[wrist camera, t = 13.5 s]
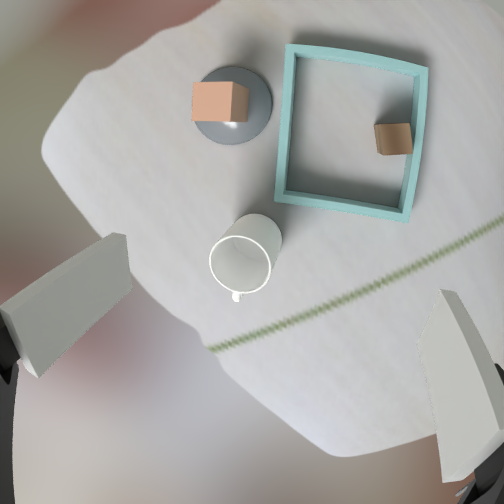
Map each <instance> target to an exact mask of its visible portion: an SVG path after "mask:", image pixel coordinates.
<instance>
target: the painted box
mask: <svg viewBox="0 0 504 504" xmlns="http://www.w3.org/2000/svg"><path fill="white" fill-rule="evenodd" d="M248 100H249V89H248V88H246V87H244V86H241V85H239V84H237V83H235V82H195V83H193V100H192V121H224V122H247V115H248Z"/></svg>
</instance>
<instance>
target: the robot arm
mask: <svg viewBox="0 0 504 504" xmlns="http://www.w3.org/2000/svg"><path fill="white" fill-rule="evenodd" d="M130 290H132V284H131V277H130V268H129V260H128V251H127V241H126V235H124V234H118V233H111V234H110V235H108V236H106V237H104V238H103V239H101V240H99V241H98V242H96V243H94V244H93V245H91V246H89V247H88V248H86V249H84V250H83V251H81V252H79V253H78V254H76V255H75V256H73V257H72V258H70V259H68V260H67V261H65V262H64V263H62V264H60V265H59V266H57V267H56V268H54V269H53V270H51V271H50V272H48V273H47V274H45V275H44V276H42V277H41V278H39V279H38V280H37V281H35V282H33V283H32V284H30V285H29V286H27V287H26V288H25V289H23V290H22V291H20V292H19V293H18V294H16V295H15V296H13V297H12V298H11V299H9V300H8V301H6V302H5V303H3V304H2V305H1V306H0V504H15V498H14V487H13V469H12V438H13V416H14V404H15V395H16V386H17V379H18V372H19V368H18V364H17V362H16V361H17V360H18V359H20V358H21V360H22V362H23V364H24V366H25V368H26V370H28V371H29V372H30V373H32V374H33V375H34V376H36V377H37V378H40V377H41V376H42V374H44V372H45V371H46V370H47V369H48V368H49V367H50V366H51V365H52V364H53V363H54V362H55V361H56V360H57V359H58V358H59V357H60V356H61V355H62V354H63V353H64V352H66V350H67V349H69V348H70V347H71V346H72V345H73V344H74V343H75V342H76V341H77V340H78V339H79V338H80V337H81V336H82V335H83V334H84V333H85V332H86V331H87V330H88V329H89V328H90V327H91V326H92V325H93V324H95V323H96V322H97V321H98V320H99V319H100V318H101V317H102V316H103V315H104V314H105V313H106V312H107V311H109V309H111V308H112V307H113V306H114V305H115V304H116V303H117V302H118V301H119V300H121V299H122V298H123V297H124V296H125V295H126V294H127V293H128V292H129V291H130ZM417 347H418V351H419V354H420V358H421V362H422V366H423V370H424V374H425V378H426V383H427V387H428V392H429V396H430V401H431V406H432V411H433V416H434V422H435V427H436V434H437V440H438V447H439V453H440V462H441V470H442V480H443V483H444V482H451V481H459V480H463V479H464V478H465V477H467V476H468V475H469V474H470V473H471V472H473V471H474V472H475V479H474V480H473V481H471V482H470V483H469V484H467V485H466V486H465V487H463V488H462V489H461V490H459V491H458V492H457V493H456V495H455V496H459V495H460V494H461V493H463V492H464V491H465V492H464V494H463V496H462V497H461V498H460V500H459V502H458V503H457V504H504V371H503V369H502V368H501V367H500V366H499V365H498V364H494V362H493V360H492V358H491V356H490V354H489V352H488V350H487V348H486V346H485V344H484V342H483V340H482V338H481V336H480V334H479V332H478V330H477V328H476V327H475V325H474V323H473V321H472V319H471V317H470V316H469V314H468V312H467V310H466V309H465V307H464V305H463V303H462V302H461V300H460V298H459V297H458V295H457V293H456V292H454V291H448V290H442V289H440V291H439V293H438V296H437V298H436V301H435V304H434V306H433V308H432V311H431V313H430V316H429V318H428V320H427V323H426V325H425V327H424V330H423V332H422V334H421V336H420V338H419V341H418V343H417Z"/></svg>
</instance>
